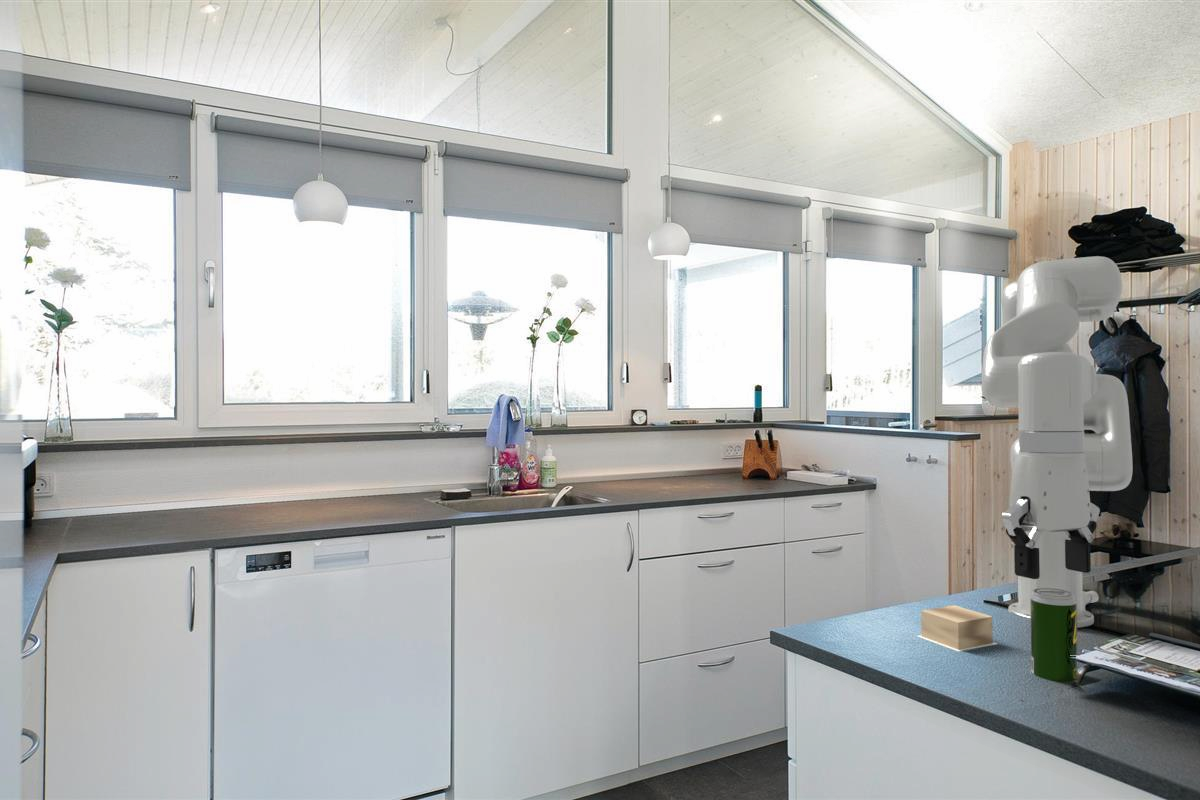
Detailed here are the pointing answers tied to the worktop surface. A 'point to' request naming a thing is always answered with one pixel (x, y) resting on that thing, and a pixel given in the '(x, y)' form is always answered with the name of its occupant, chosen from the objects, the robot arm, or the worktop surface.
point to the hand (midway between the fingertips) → (1052, 573)
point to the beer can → (1054, 634)
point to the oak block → (957, 627)
